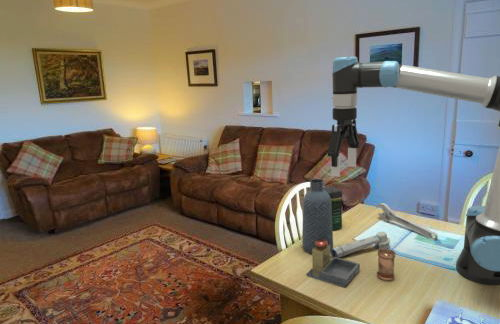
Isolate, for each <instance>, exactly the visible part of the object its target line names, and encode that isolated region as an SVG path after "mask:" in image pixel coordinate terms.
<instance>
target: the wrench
mask: <svg viewBox="0 0 500 324" xmlns="http://www.w3.org/2000/svg"><path fill="white" fill-rule="evenodd" d="M376 208H380V209H381V210H382V212H379V213H378V214H377V215H378V216H379V218H381V219H382V220H384V222H385V223H390V221H391V222H392V221H393V222H396V223H397V224H400V225H402V226H404V227H406V228H408V229H409V230H411V231H413V232H416V233H417V234H420V235H421V236H423V237H426V239H427V238H428V239H430V240H433V241H435V240H437V239H438V238H439V236H438V234H437V232H435V231H433V230H431V229H429V228H426V227H424V226H422V225H421V224H418V223H416V222H414V221H413V220H412V221H411V219H410V220H409V219H408V218H406V217H403V216H400V215H399V214H397V213H396V212H395V211H393V210H392V208H390V206H389V205H388V204H386V203H384V202H381V203H378V204H377V205H376ZM433 236H434V237H433Z"/></svg>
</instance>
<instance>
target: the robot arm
mask: <svg viewBox="0 0 500 324" xmlns="http://www.w3.org/2000/svg"><path fill="white" fill-rule="evenodd" d="M331 74H332V97H331V100H332V107H333V109H332V120H334V121H336V124H332V126H331V134H330V139H329V143H328V144H329V145H328V149H327V157H330V176H331V177H336V178H338V177H339V178H340V177H341V156H339V155H340V152H341V149H342V146H343V142H344V140H345V139H346V143H348V148H347V167H352V168H356V167H357V149H359V148H360V139H359V135H358V134H359V133H358V129H357V120H356V119H358V118H357V114H358V112H357V111H358V108H357V105H358V88H359V89H360V88H385V89H386V88H396V89H401V90H406V91H412V92H417V93H423V94H428V95H431V96H432V95H433V96H438V97H442V98H443V97H444V98H449V99H454V100H455V99H456V100H460V101H466V102H469V103H470V102H471V103H475V104H480V105H481V106H482V107H483V109H484V108H485V109H489V110H494V111H496V112H497V111H498V112H500V76H498V75H493V76H492V77H489V78H488V77H482V76H476V75H469V74H463V73H457V72H449V71H444V70H440V69H439V70H438V69H433V68H432V69H431V68H424V67H419V66H413V65H407V64H401V63H400V64H399V62H398V61H396V60H385V61H372V62H371V61H370V62H359V60H358V57H357V56H344V57H336V58H334V59H333V61H332V73H331ZM497 127H498V129H499V130H500V119H499V120H498V125H497ZM492 172H493V173H492V175H491V180H490V184H489V188H488V192H487V195H486V200H485V205H474V206H473V205H472V206H469V207H468V208H467V210H466V214H465V216H466V221H465V231H464V242H463V248H462V250H461V251H460V254H459V255H458V258H457V259H456V263H455V264H456V265H455V269H456V271H457V273H458V274H460V276H462V277H464V278H465V279H468V280H470V281H472V282H476V283H477V284H478V283H479V284H482V285H493V286H495V285H496V286H497V285H500V146H499V148H498V152H497V156H496V159H495V164H494V168H493V171H492Z"/></svg>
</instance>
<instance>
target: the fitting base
mask: <svg viewBox="0 0 500 324" xmlns="http://www.w3.org/2000/svg"><path fill="white" fill-rule="evenodd" d="M315 245H316V246H315V247H314V248H313V249H312V254H311V256H312V257H311V258H312V260H311V261H312V263H311V265H312V268H310V270H309V271H308V272H306V276H307V277H309V278H311V279H312V278H313V279H316V280H319V281H321V282H325V283H329V284H331V285H335V286H338V287H341V288H344V289H346V287H347V286H348V285H349V283H350V282H351V281H352V280H353V278H355V276H356V275H357V274H358V273H359V271H360V269H361V267H360V266H361V263H359V262H355V261H351V260H347V259H344V258H342V257H340V258H337V257H332V258H331V252H330V245H329V244H328V242H327V240H325V239H317V240H315Z"/></svg>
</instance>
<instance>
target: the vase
mask: <svg viewBox="0 0 500 324" xmlns="http://www.w3.org/2000/svg"><path fill="white" fill-rule="evenodd" d="M324 183H325V181H324V180H323V179H319V178H313V179H311V180H310V181H309V190H307V192H306V193H305V194H304V196H303V200H302V201H303V202H302V233H301V234H302V236H301V237H302V238H301V239H302V240H301V242H302V243H301V245H302V249H303V250H304V252H306V253H308V254H311V255H312V249H313V248H314V247H315V246H316V245H315V240H317V239H325V240H327V242H328V244H329V245H330V253H331V249H333V248H334V233H333V231H334V230H333V228H332V204H331V198H330V196H329V194H328V193H327V192H326V191H325V190H324V187H325V184H324Z"/></svg>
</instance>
